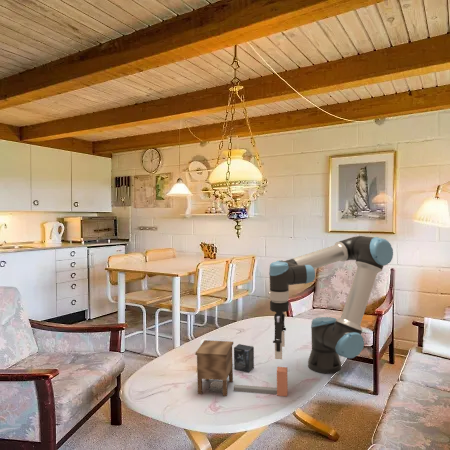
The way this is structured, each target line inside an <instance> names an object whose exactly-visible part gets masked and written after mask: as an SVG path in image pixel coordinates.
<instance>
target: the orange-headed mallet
mask: <svg viewBox="0 0 450 450" xmlns="http://www.w3.org/2000/svg"><path fill="white" fill-rule="evenodd" d="M276 368H277V369H276V387H271V386H269V387H268V386H257V385H245V384H244V385H243V384H234V385H233V392H243V393H255V394H264V395H265V394H266V395H268V394H269V395H276V396H277V397H288V392H289V391H288V385H289V384H288V382H289V381H288V367H285V366H277V367H276Z"/></svg>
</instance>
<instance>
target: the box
mask: <svg viewBox="0 0 450 450" xmlns="http://www.w3.org/2000/svg"><path fill="white" fill-rule="evenodd" d="M254 349H255V348H254V346H253V345H246V344H241V343H239V344H237V345H235V346H234V347H233V370H237V371H242V372H246V373H250V372H251V371H252V370H253V369H254V368H255V357H254V356H255V354H254V353H255V351H254Z"/></svg>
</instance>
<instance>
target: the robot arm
mask: <svg viewBox="0 0 450 450" xmlns="http://www.w3.org/2000/svg"><path fill="white" fill-rule="evenodd" d="M393 256H394V249H393V247H392V244H391V242H390V241H389V240H387V239H386V238H383V237H379V236H375V237H374V236H366V235H365V236H363V235H357V236H352V237H349V238H346V239H343V240H340V241H337V242H335V243H334V245H331V246H327V247H325V248H322V249H319V250H316V251H312V252H309V253H306V254H303V255H299V256H297V257H294V258H293V257H292V258H290V259H286V260H276V261H274V262H271V263H269V272H268V273H269V274H268V275H269V292H268V295H269V299H270V301H269V310H270V311H271V312H272V313H273V312H274V316H273V320H274V340H272V343H273V344H274V359H275V360H283V347H285V345H286V344H285V341H286V340H285V331H287V328H286V327H285V319H286V318H285V317H286V315H285V314H286V312H288V311H290V302H289V300H290V296H289V295H290V294H289V293H290V292H289V291H290V290H289V288H290V287H289V286H292V285H302V284H303V285H306V284H309V283H310V284H311V283H313V282H314V281H315V278H316V271H315V269H319V268H321V267H325V266H328V265H330V264H333V263H336V262H343V263H344V262H346V261H355V264H356V267H357V268H356V270H355V274H354V276H353V279H352V282H351V286H350V289H349V291H348V295H347V298H346V301H345V304H344V305H343V306H344V307H343V310H342V313H341V315H340V317H339V318H335V317H331V316H330V317H328V316H322V317H315V318H313V319H312V320H311V327H310V328H311V350H310V354H309V357H308V360H307V366H308V368H309V369H310V370H311V371H313V372H315V373H316V372H317V373H321V374H334V373H338V372H340V371H341V369H342V362H341V359H340V357H343V358H346V359H355V358H356V357H357V356H359V355H360V354H361V352H362V351H363V349H364V347H365V340H364V339H365V338H364V337H363V336H362V333H363V329H362V326H361V324H362V320H363V317H364V315H365V312H366V309H367V306H368V302H369V299H370V296H371V293H372V291H373V288H374V287H373V286H374V285H375V281H376V278H377V276H378V274H379V273H381V272H382V271H383V268H384V266H385V267H386V265H387V266H388V265H389V264H390V263H391V262H392V261H393Z"/></svg>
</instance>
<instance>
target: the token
mask: <svg viewBox="0 0 450 450" xmlns="http://www.w3.org/2000/svg"><path fill="white" fill-rule="evenodd" d="M208 392H211V393H213V392H214V393H223V381H218V380H212V381H211V383H210V385H209V386H208Z"/></svg>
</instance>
